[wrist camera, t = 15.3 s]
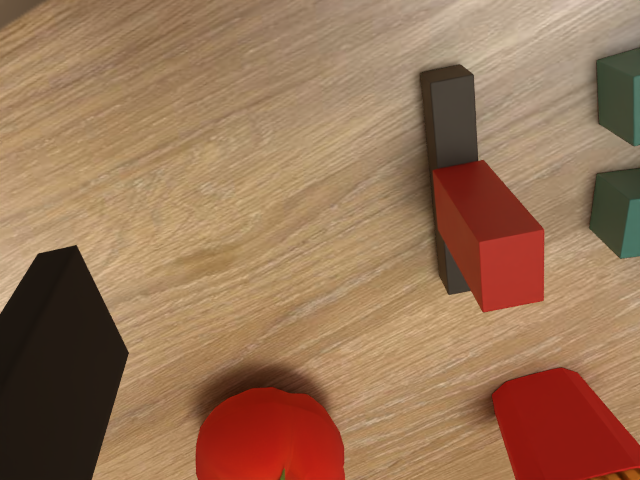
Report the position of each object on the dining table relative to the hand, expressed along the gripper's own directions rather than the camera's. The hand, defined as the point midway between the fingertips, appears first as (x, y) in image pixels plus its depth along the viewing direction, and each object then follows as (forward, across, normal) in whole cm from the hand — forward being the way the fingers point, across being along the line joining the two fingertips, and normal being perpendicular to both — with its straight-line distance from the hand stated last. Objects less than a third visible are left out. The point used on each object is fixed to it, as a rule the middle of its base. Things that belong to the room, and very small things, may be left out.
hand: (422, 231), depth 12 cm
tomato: (+23, -10, -28) cm, 37 cm away
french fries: (+23, +11, -31) cm, 40 cm away
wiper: (+24, +6, -11) cm, 27 cm away
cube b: (+24, +17, -15) cm, 33 cm away
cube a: (+24, +17, -8) cm, 30 cm away
